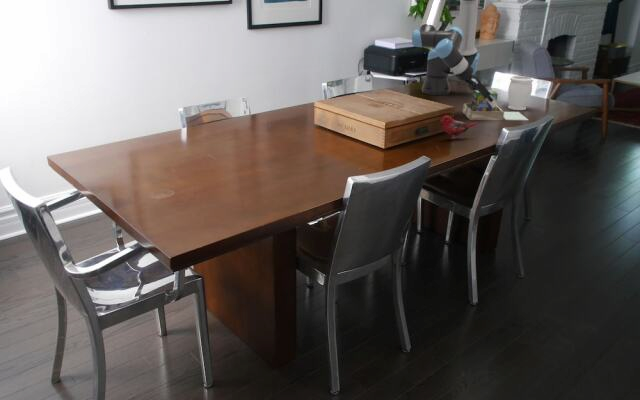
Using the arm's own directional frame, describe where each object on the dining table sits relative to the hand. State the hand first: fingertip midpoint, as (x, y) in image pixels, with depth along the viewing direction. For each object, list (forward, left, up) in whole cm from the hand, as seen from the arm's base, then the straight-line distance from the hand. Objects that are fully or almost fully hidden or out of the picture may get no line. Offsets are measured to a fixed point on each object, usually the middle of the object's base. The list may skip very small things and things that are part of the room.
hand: (489, 102), depth 242 cm
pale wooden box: (+1, -3, -6) cm, 7 cm away
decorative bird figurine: (+37, -22, -6) cm, 43 cm away
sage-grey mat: (+1, +11, -6) cm, 13 cm away
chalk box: (+1, -3, -6) cm, 7 cm away
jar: (-15, +18, -6) cm, 24 cm away
